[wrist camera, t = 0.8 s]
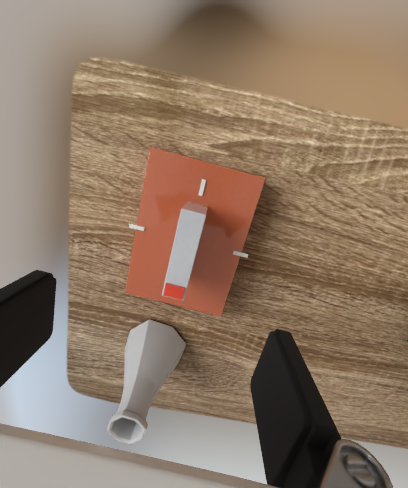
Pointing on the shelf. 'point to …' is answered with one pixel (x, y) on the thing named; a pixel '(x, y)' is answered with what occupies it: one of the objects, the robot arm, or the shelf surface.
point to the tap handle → (184, 250)
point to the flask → (144, 376)
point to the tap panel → (213, 234)
